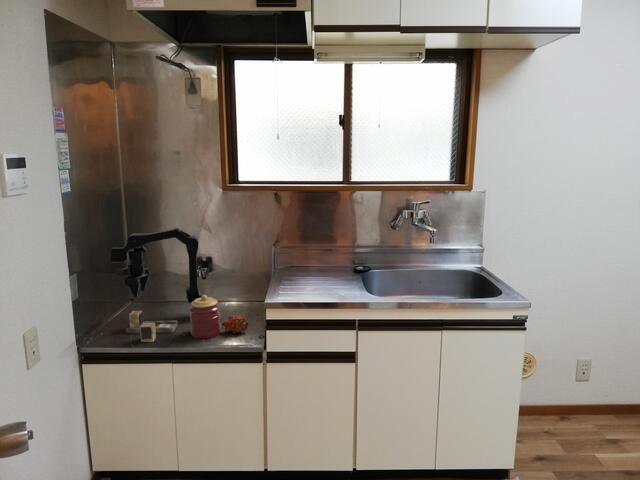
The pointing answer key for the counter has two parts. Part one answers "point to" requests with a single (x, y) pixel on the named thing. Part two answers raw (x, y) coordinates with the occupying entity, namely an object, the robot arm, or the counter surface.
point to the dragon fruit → (236, 324)
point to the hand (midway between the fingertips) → (139, 293)
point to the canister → (205, 317)
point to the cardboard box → (148, 332)
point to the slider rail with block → (160, 326)
